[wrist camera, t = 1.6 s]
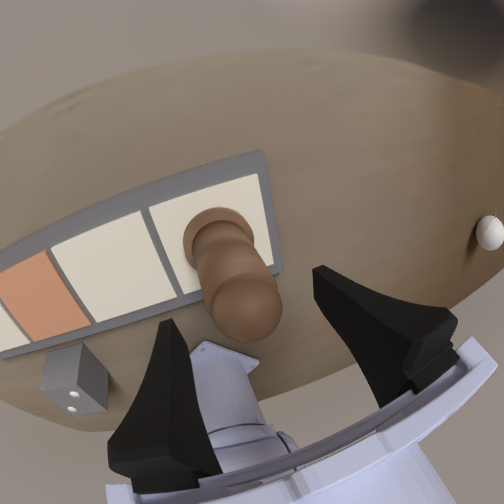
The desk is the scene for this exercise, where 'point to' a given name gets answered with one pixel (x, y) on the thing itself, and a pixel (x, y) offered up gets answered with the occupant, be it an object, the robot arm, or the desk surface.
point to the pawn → (232, 275)
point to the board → (125, 255)
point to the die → (75, 380)
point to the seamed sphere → (490, 232)
